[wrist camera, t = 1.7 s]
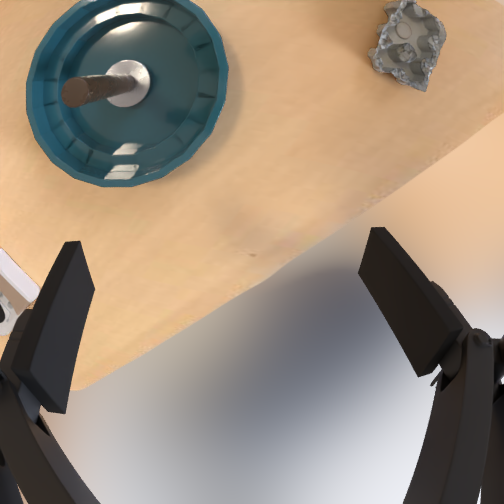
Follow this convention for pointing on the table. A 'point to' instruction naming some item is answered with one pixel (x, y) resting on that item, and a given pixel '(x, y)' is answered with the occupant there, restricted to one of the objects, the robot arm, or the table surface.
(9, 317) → the record player
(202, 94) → the bowl
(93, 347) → the table surface
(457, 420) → the robot arm
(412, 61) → the egg carton
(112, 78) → the brown rod
